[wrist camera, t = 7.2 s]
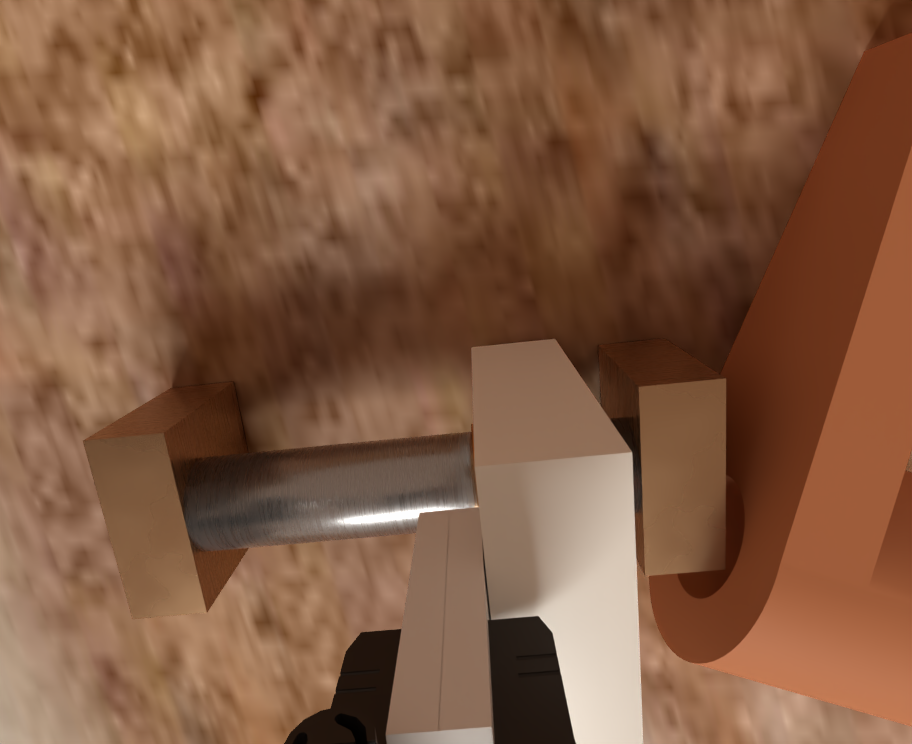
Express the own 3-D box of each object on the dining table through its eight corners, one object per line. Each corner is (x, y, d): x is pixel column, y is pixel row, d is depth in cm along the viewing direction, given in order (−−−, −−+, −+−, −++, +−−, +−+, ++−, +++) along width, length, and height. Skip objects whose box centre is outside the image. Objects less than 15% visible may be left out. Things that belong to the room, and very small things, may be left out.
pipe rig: (204, 530, 25) (128, 624, 19) (171, 387, 23) (77, 444, 18) (668, 489, 24) (728, 574, 18) (664, 338, 22) (729, 380, 17)
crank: (808, 620, 26) (955, 797, 18) (630, 567, 25) (702, 725, 17) (1075, 131, 21) (1437, 85, 13) (859, 52, 20) (1102, -44, 12)
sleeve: (489, 523, 24) (505, 760, 14) (471, 347, 22) (474, 467, 12) (566, 516, 24) (643, 750, 13) (555, 338, 22) (632, 452, 12)
